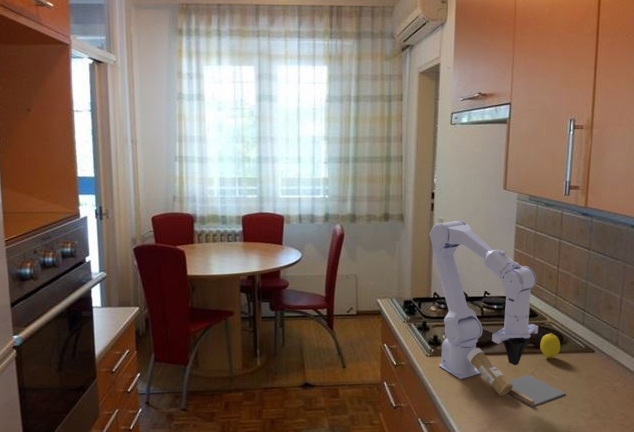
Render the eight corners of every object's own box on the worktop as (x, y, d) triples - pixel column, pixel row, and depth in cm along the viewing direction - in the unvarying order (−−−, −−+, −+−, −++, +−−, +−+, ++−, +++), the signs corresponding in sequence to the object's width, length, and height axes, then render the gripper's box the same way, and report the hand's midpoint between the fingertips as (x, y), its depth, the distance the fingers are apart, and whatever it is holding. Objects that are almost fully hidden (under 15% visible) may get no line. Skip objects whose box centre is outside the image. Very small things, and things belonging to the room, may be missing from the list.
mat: (495, 386, 141) (495, 381, 141) (528, 375, 147) (528, 370, 147) (531, 406, 131) (531, 401, 130) (565, 394, 137) (565, 389, 136)
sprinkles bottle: (512, 382, 133) (478, 344, 143) (498, 392, 133) (465, 354, 142) (514, 389, 136) (480, 351, 146) (500, 399, 136) (467, 361, 146)
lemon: (542, 352, 162) (544, 328, 161) (561, 357, 159) (563, 332, 157) (537, 358, 158) (538, 333, 156) (556, 363, 154) (558, 338, 153)
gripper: (508, 324, 125) (505, 375, 127) (549, 314, 131) (545, 363, 134) (487, 314, 131) (484, 364, 133) (527, 305, 138) (523, 353, 140)
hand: (513, 363), depth 134 cm, fingers closed
